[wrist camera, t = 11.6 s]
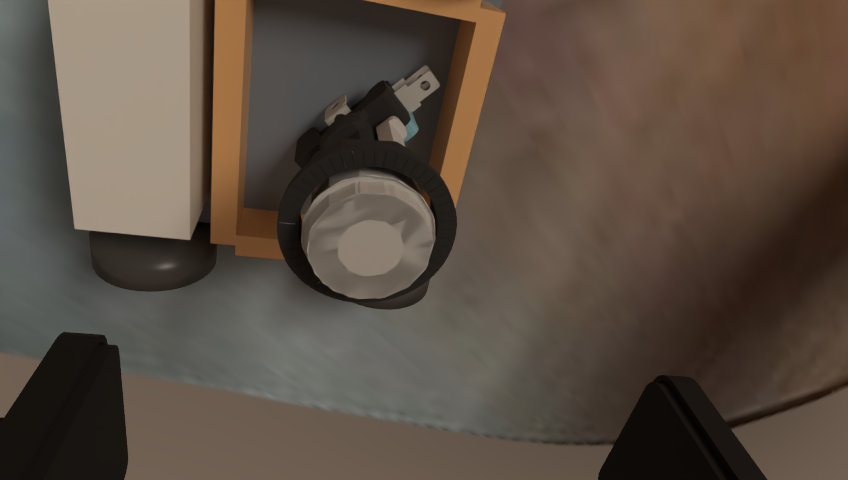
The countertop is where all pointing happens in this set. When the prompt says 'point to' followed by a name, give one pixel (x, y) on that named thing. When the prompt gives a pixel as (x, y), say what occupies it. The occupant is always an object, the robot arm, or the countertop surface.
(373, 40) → the chassis
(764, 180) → the countertop surface
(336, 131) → the push button
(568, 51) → the countertop surface
